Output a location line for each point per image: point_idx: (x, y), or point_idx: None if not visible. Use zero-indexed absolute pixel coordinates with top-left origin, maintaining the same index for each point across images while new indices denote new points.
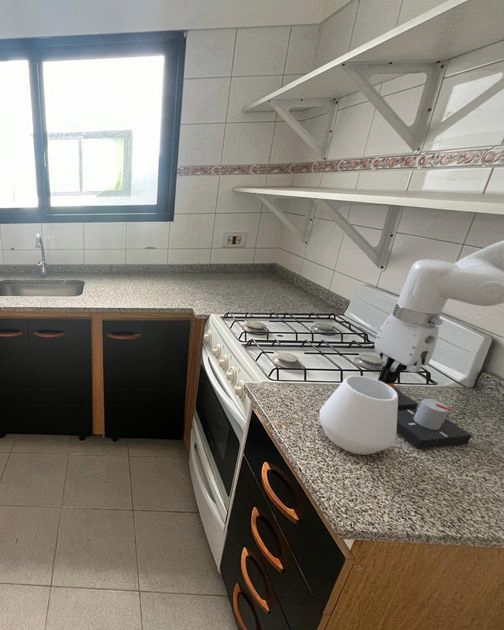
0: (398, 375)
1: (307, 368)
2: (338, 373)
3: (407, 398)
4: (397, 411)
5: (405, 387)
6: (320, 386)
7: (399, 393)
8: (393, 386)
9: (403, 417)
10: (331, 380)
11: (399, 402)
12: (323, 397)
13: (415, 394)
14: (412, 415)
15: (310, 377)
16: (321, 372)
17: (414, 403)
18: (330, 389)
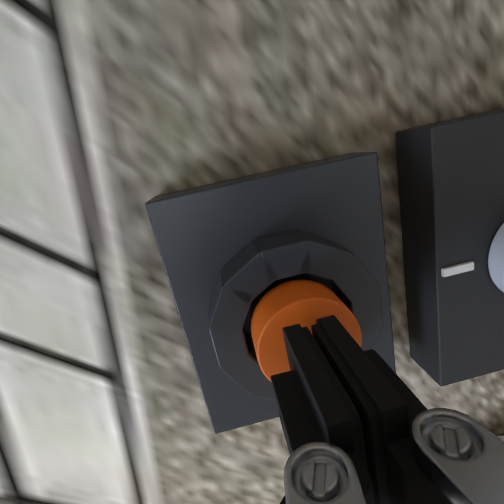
0: (408, 390)
1: (4, 486)
2: (17, 357)
3: (327, 183)
4: (442, 326)
5: (106, 14)
6: (180, 479)
7: (357, 270)
8: (344, 319)
9: (484, 327)
10: (112, 418)
11: (364, 259)
12: (265, 491)
13: (189, 9)
14: (477, 275)
15: (102, 495)
16: (32, 436)
17: (376, 178)
18: (199, 449)
